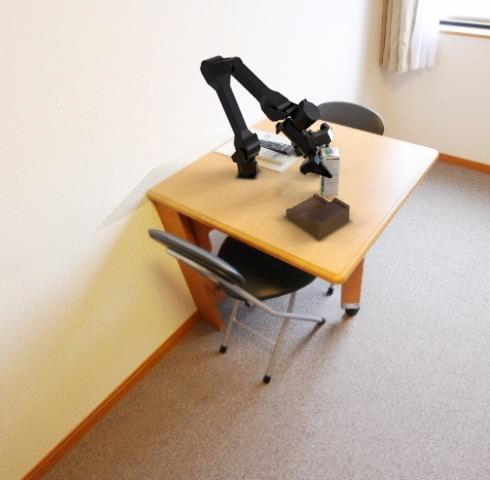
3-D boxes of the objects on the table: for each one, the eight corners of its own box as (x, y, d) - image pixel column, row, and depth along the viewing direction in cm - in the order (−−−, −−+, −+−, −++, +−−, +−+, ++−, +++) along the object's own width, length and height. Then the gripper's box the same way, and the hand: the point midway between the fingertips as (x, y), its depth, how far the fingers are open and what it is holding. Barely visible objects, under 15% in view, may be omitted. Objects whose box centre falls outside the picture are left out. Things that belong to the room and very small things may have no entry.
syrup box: (319, 187, 118) (319, 147, 109) (336, 186, 119) (338, 146, 109) (320, 196, 114) (321, 156, 104) (338, 195, 114) (341, 155, 105)
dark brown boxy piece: (286, 217, 109) (284, 201, 105) (315, 200, 115) (315, 185, 111) (319, 240, 101) (319, 224, 97) (348, 221, 107) (349, 205, 103)
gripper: (309, 133, 94) (347, 173, 100) (324, 106, 107) (357, 143, 113) (283, 156, 101) (320, 193, 106) (300, 128, 114) (332, 162, 120)
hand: (333, 171), depth 111 cm, fingers closed on syrup box, 7 cm apart
